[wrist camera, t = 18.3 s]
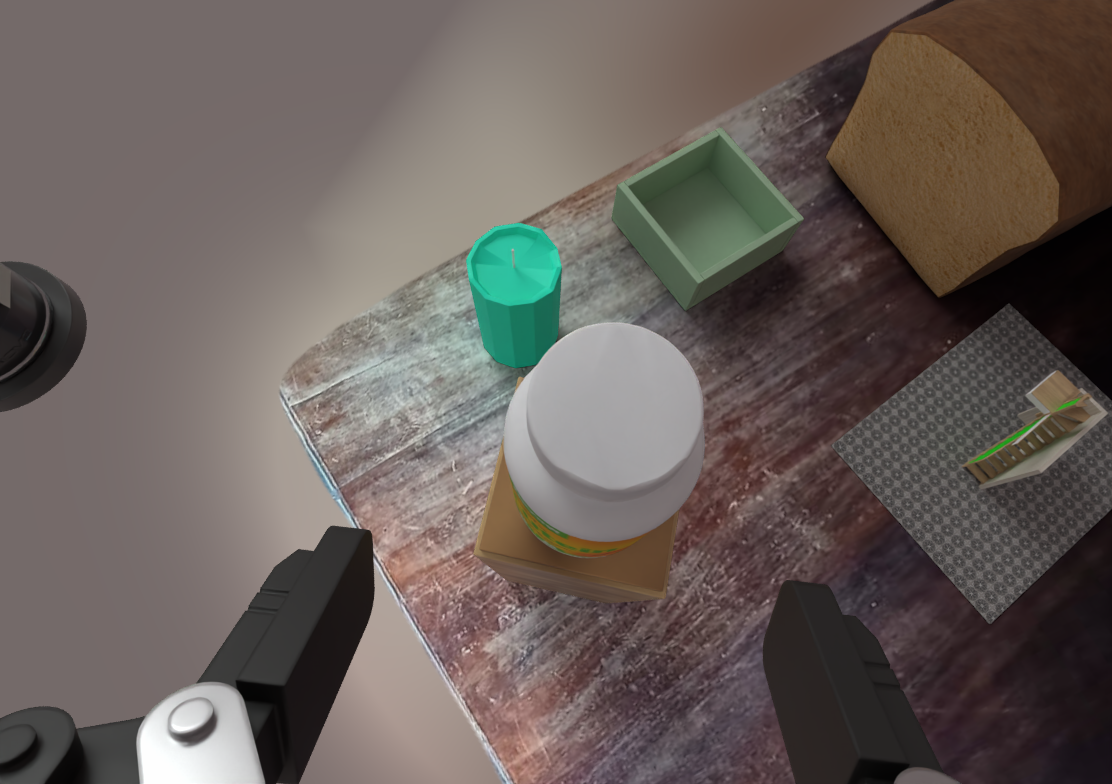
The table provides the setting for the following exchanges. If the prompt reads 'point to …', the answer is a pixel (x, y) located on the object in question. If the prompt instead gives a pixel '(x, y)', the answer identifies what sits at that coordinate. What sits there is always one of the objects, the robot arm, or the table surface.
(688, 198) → the basket
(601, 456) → the supplement bottle
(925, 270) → the bread
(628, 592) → the riser
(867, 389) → the table surface
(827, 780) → the robot arm
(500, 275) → the candle
